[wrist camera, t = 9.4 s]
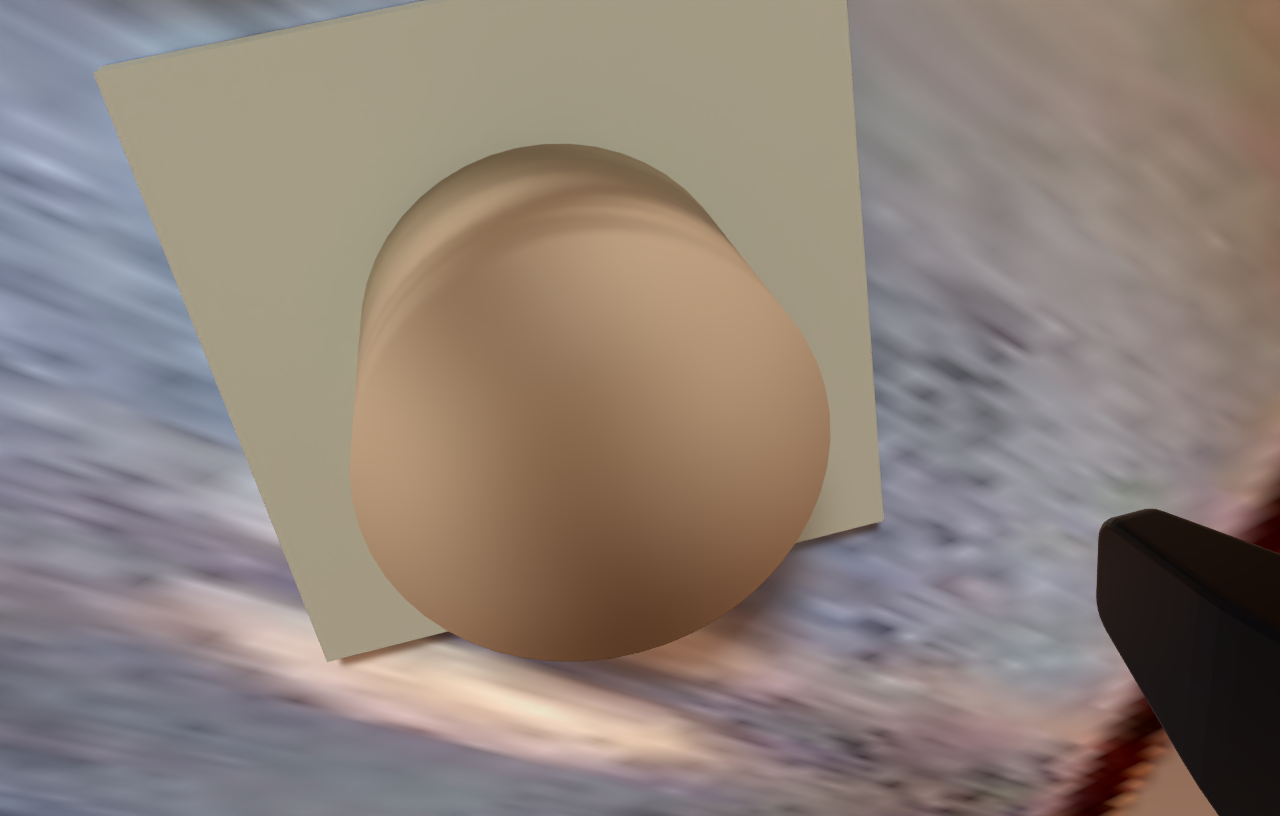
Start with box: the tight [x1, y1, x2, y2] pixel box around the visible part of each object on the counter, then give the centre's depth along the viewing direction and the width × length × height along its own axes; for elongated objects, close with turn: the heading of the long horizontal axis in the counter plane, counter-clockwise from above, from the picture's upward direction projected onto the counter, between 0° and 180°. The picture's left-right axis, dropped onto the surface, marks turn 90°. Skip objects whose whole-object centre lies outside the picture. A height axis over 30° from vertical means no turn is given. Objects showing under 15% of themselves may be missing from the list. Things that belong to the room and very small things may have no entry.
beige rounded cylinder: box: [350, 144, 830, 661], centre depth 18 cm, size 7×7×5 cm
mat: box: [93, 0, 884, 662], centre depth 21 cm, size 12×12×1 cm
